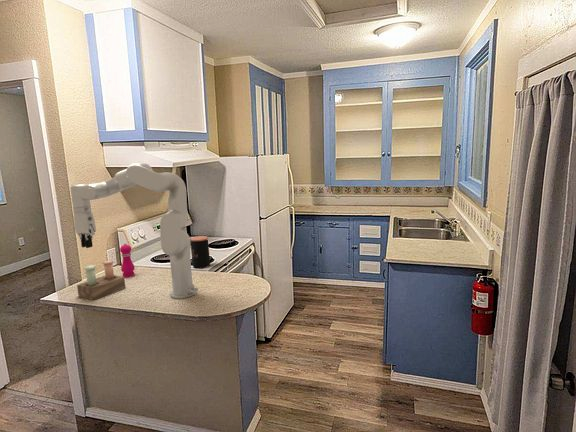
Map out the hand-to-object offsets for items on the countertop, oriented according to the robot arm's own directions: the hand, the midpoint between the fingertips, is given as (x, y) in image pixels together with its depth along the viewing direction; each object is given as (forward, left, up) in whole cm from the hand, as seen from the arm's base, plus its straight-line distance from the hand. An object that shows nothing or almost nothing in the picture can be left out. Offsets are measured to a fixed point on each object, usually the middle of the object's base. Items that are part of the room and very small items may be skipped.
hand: (87, 246), depth 181 cm
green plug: (0, 0, -21) cm, 21 cm away
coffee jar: (-19, -59, -25) cm, 67 cm away
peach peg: (0, -10, -21) cm, 23 cm away
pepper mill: (+10, -29, -25) cm, 40 cm away
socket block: (0, -5, -25) cm, 26 cm away
